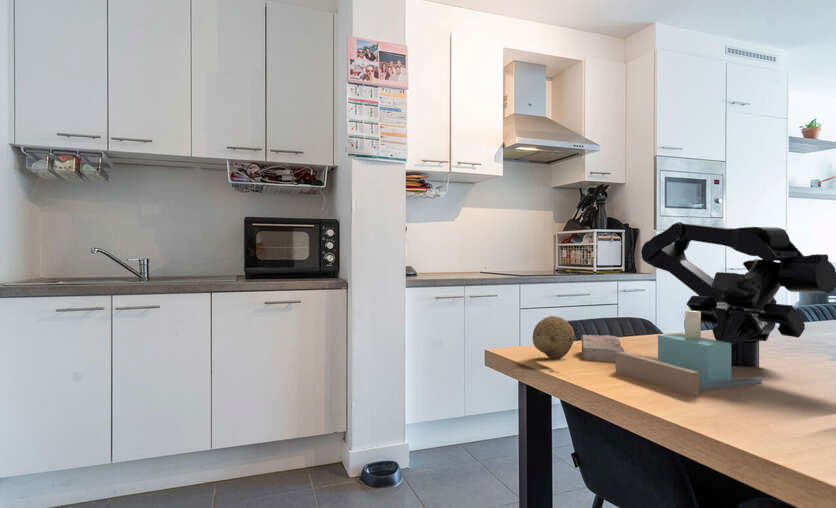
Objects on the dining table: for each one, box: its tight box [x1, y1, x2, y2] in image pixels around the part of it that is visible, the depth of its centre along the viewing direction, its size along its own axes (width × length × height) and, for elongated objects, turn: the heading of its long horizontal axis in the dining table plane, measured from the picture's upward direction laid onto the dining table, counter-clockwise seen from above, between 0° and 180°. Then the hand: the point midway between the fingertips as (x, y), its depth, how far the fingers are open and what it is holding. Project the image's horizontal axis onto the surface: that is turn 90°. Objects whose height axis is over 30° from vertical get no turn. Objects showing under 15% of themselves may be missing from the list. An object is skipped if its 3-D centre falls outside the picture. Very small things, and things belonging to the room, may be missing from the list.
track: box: [615, 351, 763, 398], centre depth 81 cm, size 19×16×5 cm
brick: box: [581, 334, 625, 363], centre depth 101 cm, size 17×8×5 cm, turn 161°
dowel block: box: [657, 310, 732, 384], centre depth 81 cm, size 6×10×12 cm, turn 19°
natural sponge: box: [532, 315, 575, 361], centre depth 101 cm, size 9×9×10 cm
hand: (718, 347), depth 83 cm, fingers closed
